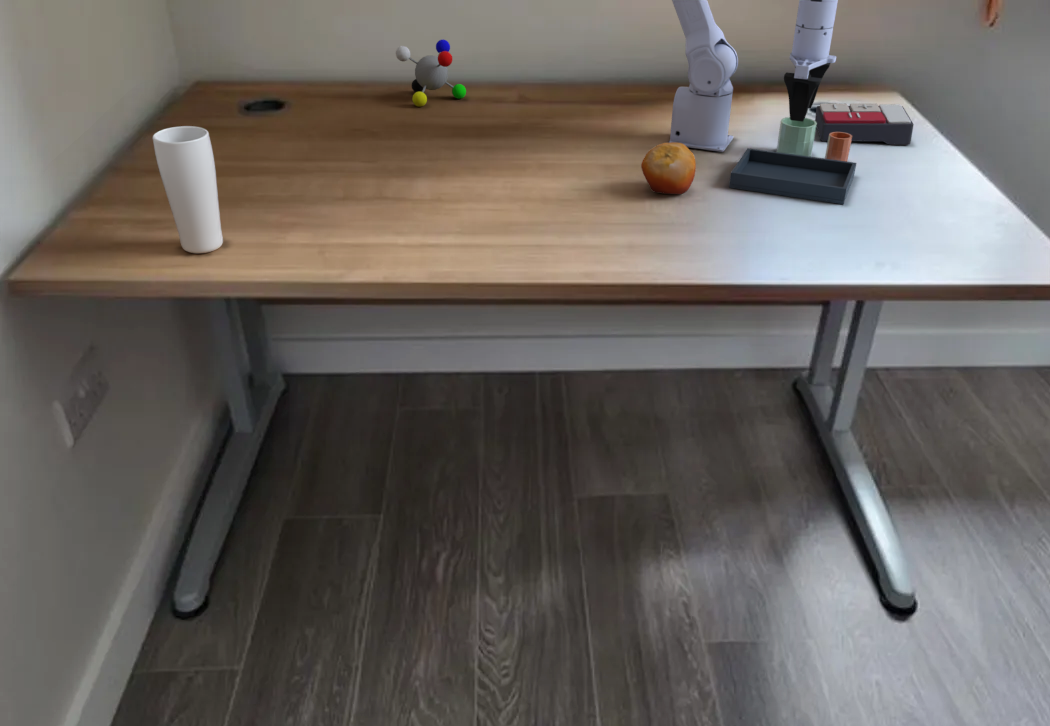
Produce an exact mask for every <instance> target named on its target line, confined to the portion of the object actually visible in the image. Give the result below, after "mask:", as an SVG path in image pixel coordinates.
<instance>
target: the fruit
mask: <svg viewBox="0 0 1050 726" xmlns="http://www.w3.org/2000/svg"><path fill="white" fill-rule="evenodd" d="M696 167H697V163H696V158H695V155H694V153H693V152H692V151H691V150H690V149H689V147H686V146H685V145H684V144H682V143H678V142H671V143H669V142H662V143H658V144H657V145H655V146H654V147H652V148H650V149H649V150H648V152H646V154H645V156H644V157H643V159H642V161H641V164H640V168H641V171H642V174H643V176H644V179H645V180H646V183H647V184H648V186H649V188H650V190H651V191H652V192H654V193H657V194H663V195H682V194H685V193H687V192H688V191H689V190H690V187H691V186H692V184H693V181H694V178H695V176H696V169H697V168H696Z"/></svg>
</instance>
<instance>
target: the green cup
mask: <svg viewBox="0 0 1050 726" xmlns="http://www.w3.org/2000/svg"><path fill="white" fill-rule="evenodd" d="M816 126H817V123H816V121H815V119H812V118H809V117H805V119H804V121H803V122H801V121H793V120H790V116H785V117H783V118H781V120H780V124H779V131H778V136H777V144H776V152H780V153H787V154H794V155H802V156H809V157H812V155H813V150H814V145H815V144H814V143H815V138H816V131H817V127H816Z"/></svg>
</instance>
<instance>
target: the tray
mask: <svg viewBox="0 0 1050 726" xmlns="http://www.w3.org/2000/svg"><path fill="white" fill-rule="evenodd" d="M857 165H858V164H857V162H854V161H853V162H852V161H839V160H832V159H825V157H815V156H811V157H809V156H802V155H794V154H787V153H780V152H777V151H771V150H763V149H756V148H748V147H747V148H746V150H745V151H744V152H743V154H742V155H741V157H740V158H739V160H738V161H737V163H736V164H735V166H734V168H733V169H732V170H731V172H730V175H729V186H728V188H729V189H737V190H743V191H750V192H755V193H764V194H770V195H776V196H784V197H791V198H797V199H803V200H811V201H818V202H823V203H830V204H837V205H844V204H845V202H846V199H847V196H848V194H849V191H850V188H851V186H852V183H853V180H854V178H855V173H856V167H857Z"/></svg>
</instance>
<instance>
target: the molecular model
mask: <svg viewBox="0 0 1050 726" xmlns="http://www.w3.org/2000/svg"><path fill="white" fill-rule="evenodd" d="M435 50H436V52H437V53H438V55H425V56H422V57H421V58H420V59H419V60H418V61H416V60H415V59H413V58H412V57H411V49H409V47H407V46H405V45H399V46H398V47H397V48H396V50H395V57H396V58H397V60H399V61H400V62H407V61H409V60H410V61H411V62H413V63H414V64H415V68H414V76H415V79H414V80H412V82H411V89H412V91H413V92H414V93H413V95H412V98H411V100H412V103H413V104H414V106H416V107H420V108H421V107H424V106H425V105H426V104H427V102H428V97H427V94H426V93H425V91H426V90H429V91H436V90H439V89H441V88H442V87H443V86H444V85H447V86H449V87H450V88H452V89H451V94H452V96H453V97H454V98H455V99H457V100H461V99H463V98H464V97H465V96H466V94H467V89H466V87H465V85H463V84H461V83H457V84H454V85H452V84H451V83H449V82H448V81H447V80H448V77H449V70H448V67H450V66H451V65H452V63H453V55H452V54H451V53H450V50H451V44H450V42H449V41H448V40H446V39H439V40H438V41H437V42H436V44H435Z"/></svg>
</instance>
